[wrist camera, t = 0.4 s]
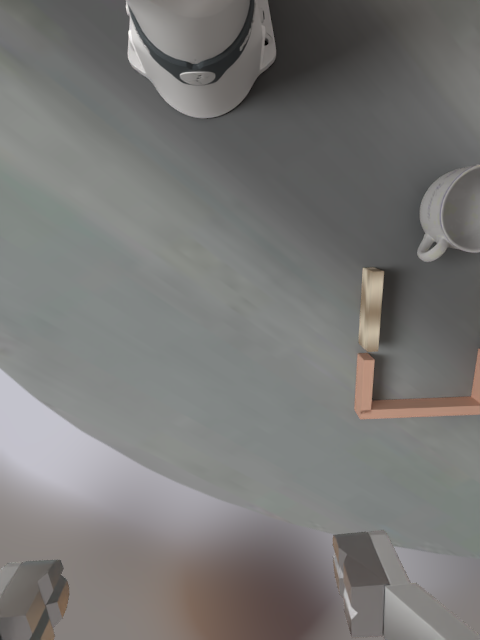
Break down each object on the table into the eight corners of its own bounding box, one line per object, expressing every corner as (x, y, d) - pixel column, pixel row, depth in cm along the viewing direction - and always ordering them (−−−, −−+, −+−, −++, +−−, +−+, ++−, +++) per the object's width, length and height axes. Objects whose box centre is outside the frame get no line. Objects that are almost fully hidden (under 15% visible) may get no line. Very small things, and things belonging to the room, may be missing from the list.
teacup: (462, 153, 51) (503, 142, 43) (497, 217, 53) (542, 217, 46) (378, 216, 53) (402, 217, 45) (415, 275, 55) (444, 285, 48)
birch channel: (362, 267, 55) (372, 271, 51) (502, 262, 55) (522, 266, 51) (358, 342, 58) (367, 351, 54) (490, 337, 58) (508, 346, 55)
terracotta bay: (357, 353, 59) (364, 360, 56) (488, 348, 59) (501, 355, 56) (354, 409, 62) (360, 419, 59) (479, 404, 62) (491, 413, 59)
